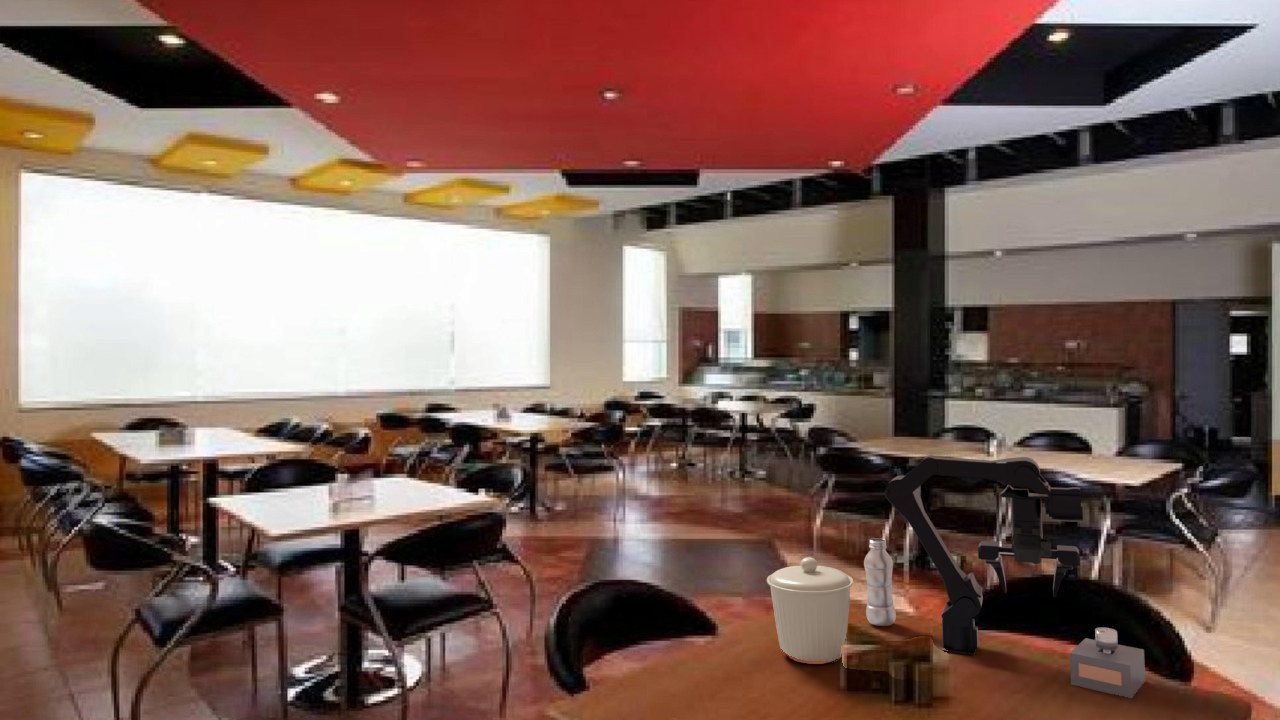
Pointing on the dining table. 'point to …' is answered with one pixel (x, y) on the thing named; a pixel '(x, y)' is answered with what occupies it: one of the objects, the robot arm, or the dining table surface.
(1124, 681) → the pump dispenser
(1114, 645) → the pump plunger
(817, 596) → the canister
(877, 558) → the plastic bottle
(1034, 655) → the dining table surface
